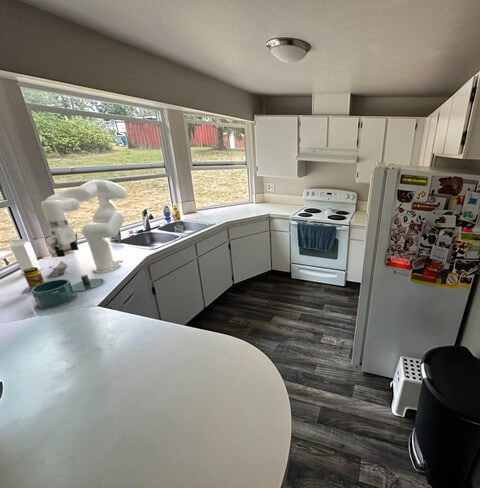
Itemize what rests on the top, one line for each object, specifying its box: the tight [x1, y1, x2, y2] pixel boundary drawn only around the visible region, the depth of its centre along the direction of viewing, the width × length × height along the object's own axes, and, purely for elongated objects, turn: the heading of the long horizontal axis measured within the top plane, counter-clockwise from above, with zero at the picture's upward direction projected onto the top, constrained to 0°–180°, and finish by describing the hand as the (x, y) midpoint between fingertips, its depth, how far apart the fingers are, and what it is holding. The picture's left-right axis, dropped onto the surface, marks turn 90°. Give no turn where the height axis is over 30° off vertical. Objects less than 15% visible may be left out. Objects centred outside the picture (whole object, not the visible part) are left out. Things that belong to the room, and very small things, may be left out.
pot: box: [30, 278, 76, 309], centre depth 129 cm, size 14×19×10 cm
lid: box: [71, 274, 104, 293], centre depth 145 cm, size 15×15×7 cm
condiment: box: [22, 267, 45, 294], centre depth 140 cm, size 7×8×12 cm
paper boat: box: [47, 260, 68, 278], centre depth 158 cm, size 12×6×9 cm
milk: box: [10, 238, 41, 275], centre depth 157 cm, size 6×6×22 cm
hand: (68, 253), depth 139 cm, fingers open, 9 cm apart
